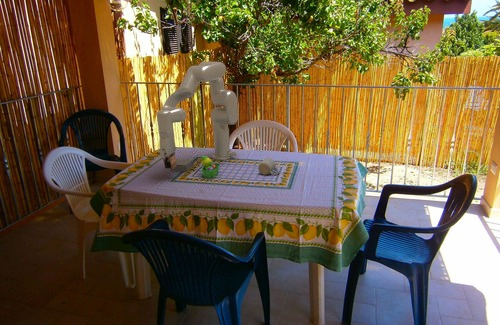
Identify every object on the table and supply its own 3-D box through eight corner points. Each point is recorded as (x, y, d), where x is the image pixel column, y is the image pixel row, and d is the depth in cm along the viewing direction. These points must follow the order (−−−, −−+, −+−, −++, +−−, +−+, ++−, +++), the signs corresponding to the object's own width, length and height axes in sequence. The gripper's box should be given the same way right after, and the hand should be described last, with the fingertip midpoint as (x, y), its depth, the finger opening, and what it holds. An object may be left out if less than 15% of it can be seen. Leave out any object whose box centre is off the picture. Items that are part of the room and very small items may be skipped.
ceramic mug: (257, 174, 206) (257, 161, 204) (263, 169, 213) (263, 157, 211) (275, 177, 202) (275, 163, 200) (280, 172, 209) (281, 159, 207)
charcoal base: (193, 166, 223) (192, 159, 222) (186, 171, 214) (186, 165, 212) (177, 165, 225) (177, 158, 224) (170, 170, 216) (170, 164, 215)
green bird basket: (215, 179, 201) (213, 159, 198) (199, 178, 203) (197, 158, 199) (220, 172, 212) (219, 152, 208) (205, 171, 214) (204, 152, 210)
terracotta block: (176, 165, 205) (175, 155, 203) (172, 168, 200) (171, 158, 198) (168, 165, 206) (166, 154, 204) (164, 168, 201) (162, 157, 199)
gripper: (166, 129, 206) (170, 160, 212) (152, 138, 190) (156, 171, 196) (179, 129, 204) (183, 161, 210) (165, 138, 188) (170, 172, 194)
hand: (170, 166), depth 203 cm, fingers closed on terracotta block, 5 cm apart
